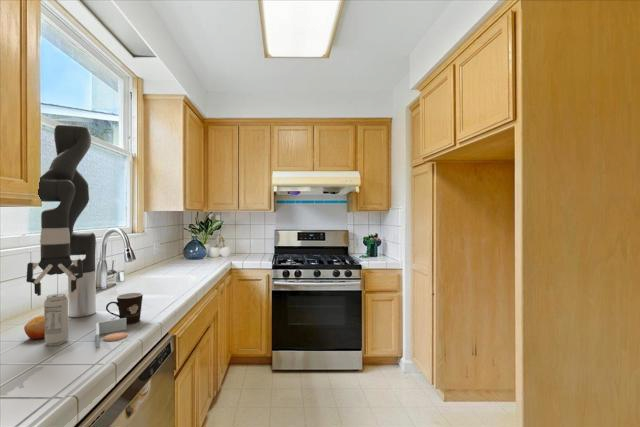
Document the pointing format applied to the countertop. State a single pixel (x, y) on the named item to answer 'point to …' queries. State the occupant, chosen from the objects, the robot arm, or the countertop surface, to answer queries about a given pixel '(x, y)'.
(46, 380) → the countertop surface
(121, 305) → the coffee mug
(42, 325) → the fruit
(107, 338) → the pad
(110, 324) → the acrylic fence
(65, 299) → the energy drink can
